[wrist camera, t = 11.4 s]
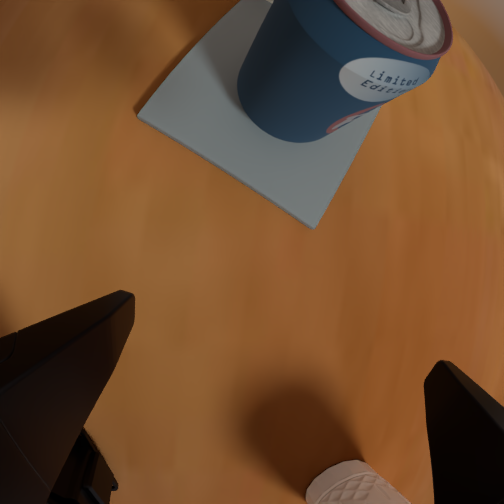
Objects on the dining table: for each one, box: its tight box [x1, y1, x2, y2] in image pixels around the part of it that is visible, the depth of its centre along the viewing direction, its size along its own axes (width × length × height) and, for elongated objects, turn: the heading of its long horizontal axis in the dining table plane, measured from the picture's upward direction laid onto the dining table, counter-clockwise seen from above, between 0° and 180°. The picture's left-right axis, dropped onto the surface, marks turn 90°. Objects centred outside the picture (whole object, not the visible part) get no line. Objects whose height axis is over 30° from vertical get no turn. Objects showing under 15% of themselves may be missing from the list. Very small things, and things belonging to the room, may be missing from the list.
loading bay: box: [137, 0, 382, 229], centre depth 18 cm, size 15×13×3 cm
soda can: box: [237, 0, 453, 143], centre depth 13 cm, size 7×7×12 cm
